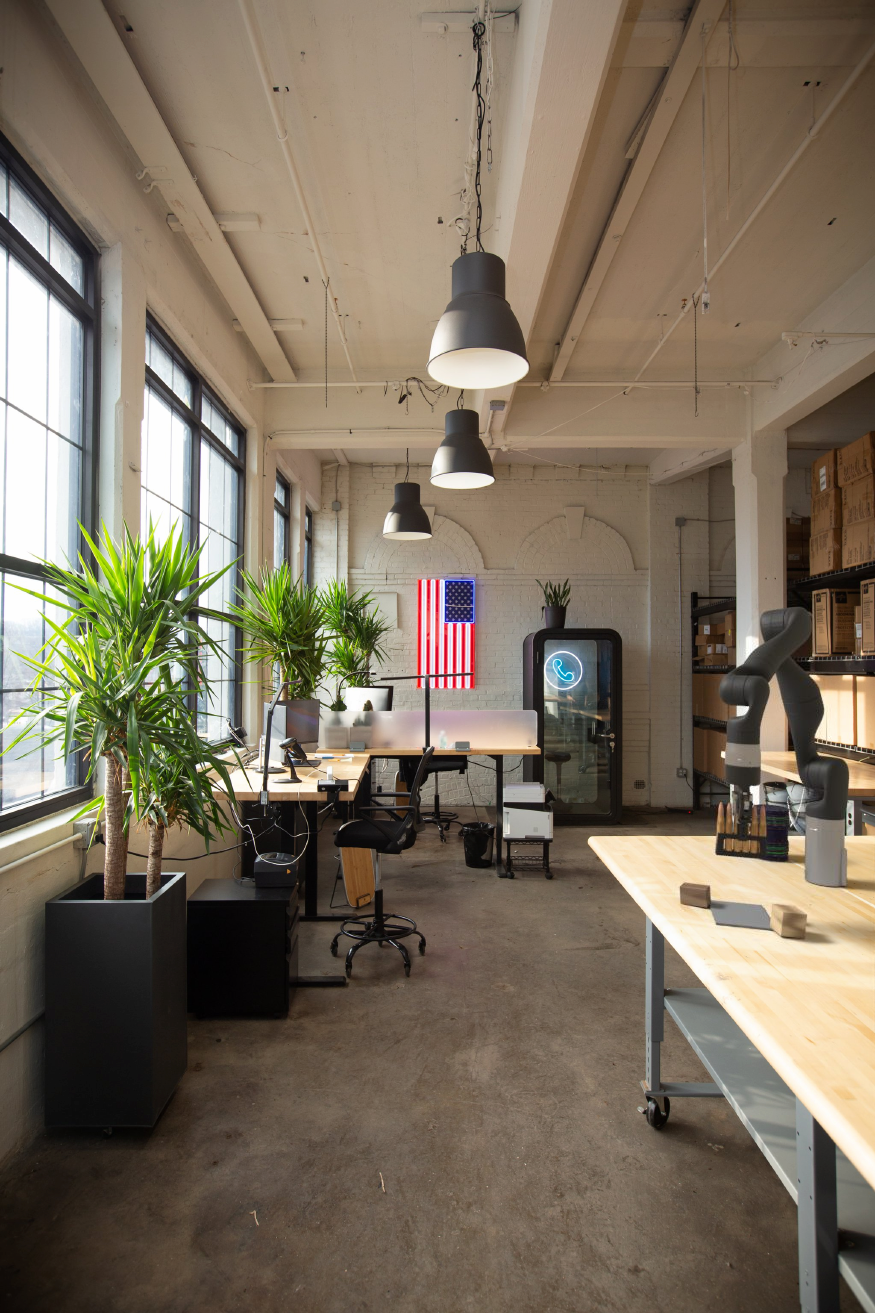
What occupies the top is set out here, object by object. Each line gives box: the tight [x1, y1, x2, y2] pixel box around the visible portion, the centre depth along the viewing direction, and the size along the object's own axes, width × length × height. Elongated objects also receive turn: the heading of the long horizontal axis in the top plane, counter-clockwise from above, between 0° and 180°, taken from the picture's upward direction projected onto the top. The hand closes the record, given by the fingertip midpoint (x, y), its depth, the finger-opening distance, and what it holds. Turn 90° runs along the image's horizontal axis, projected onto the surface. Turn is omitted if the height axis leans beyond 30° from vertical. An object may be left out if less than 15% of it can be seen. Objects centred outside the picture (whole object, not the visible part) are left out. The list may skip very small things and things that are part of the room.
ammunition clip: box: [714, 801, 767, 861], centre depth 161 cm, size 11×2×12 cm, turn 75°
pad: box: [708, 899, 774, 932], centre depth 160 cm, size 12×16×1 cm
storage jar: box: [755, 803, 790, 863], centre depth 211 cm, size 10×10×15 cm
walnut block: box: [679, 881, 712, 908], centre depth 167 cm, size 4×6×4 cm, turn 56°
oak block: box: [770, 903, 808, 939], centre depth 150 cm, size 5×5×5 cm
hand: (741, 839), depth 160 cm, fingers closed on ammunition clip, 2 cm apart
